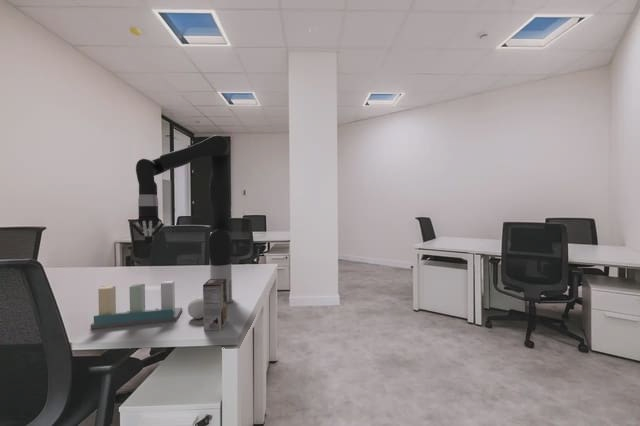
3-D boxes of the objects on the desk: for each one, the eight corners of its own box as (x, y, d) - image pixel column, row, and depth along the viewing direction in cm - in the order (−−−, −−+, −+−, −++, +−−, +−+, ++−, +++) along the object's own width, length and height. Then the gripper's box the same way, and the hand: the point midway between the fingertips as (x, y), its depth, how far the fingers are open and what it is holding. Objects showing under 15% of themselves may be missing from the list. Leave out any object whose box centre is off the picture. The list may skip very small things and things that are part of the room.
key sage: (145, 314, 118) (144, 283, 118) (142, 318, 114) (141, 286, 114) (133, 315, 117) (133, 284, 117) (130, 319, 113) (129, 287, 113)
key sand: (115, 317, 115) (115, 285, 115) (111, 321, 111) (111, 288, 111) (103, 318, 114) (103, 286, 114) (99, 322, 110) (98, 289, 110)
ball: (184, 322, 114) (184, 301, 114) (191, 315, 122) (191, 295, 122) (206, 321, 115) (206, 300, 114) (212, 314, 123) (212, 294, 122)
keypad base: (182, 311, 127) (182, 300, 127) (176, 321, 115) (175, 309, 115) (105, 317, 120) (105, 306, 120) (90, 329, 108) (90, 316, 108)
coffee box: (210, 321, 115) (209, 278, 114) (227, 320, 115) (227, 278, 115) (202, 331, 105) (202, 284, 105) (222, 330, 106) (221, 283, 106)
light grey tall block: (174, 310, 123) (174, 280, 122) (172, 313, 119) (172, 282, 119) (163, 311, 122) (163, 281, 121) (161, 314, 118) (160, 283, 118)
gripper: (128, 205, 128) (129, 246, 128) (162, 205, 132) (163, 245, 132) (134, 205, 136) (135, 244, 136) (166, 205, 139) (167, 243, 139)
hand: (149, 244), depth 134 cm, fingers closed
